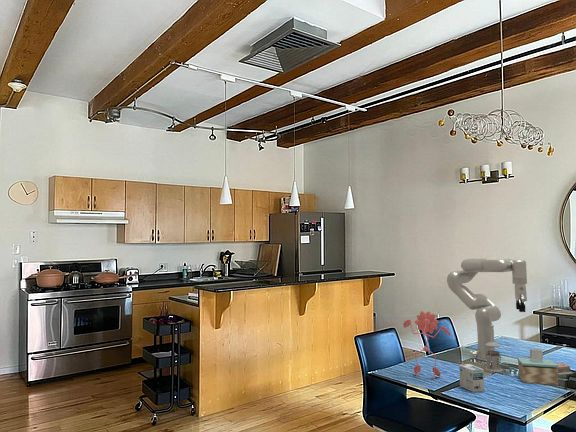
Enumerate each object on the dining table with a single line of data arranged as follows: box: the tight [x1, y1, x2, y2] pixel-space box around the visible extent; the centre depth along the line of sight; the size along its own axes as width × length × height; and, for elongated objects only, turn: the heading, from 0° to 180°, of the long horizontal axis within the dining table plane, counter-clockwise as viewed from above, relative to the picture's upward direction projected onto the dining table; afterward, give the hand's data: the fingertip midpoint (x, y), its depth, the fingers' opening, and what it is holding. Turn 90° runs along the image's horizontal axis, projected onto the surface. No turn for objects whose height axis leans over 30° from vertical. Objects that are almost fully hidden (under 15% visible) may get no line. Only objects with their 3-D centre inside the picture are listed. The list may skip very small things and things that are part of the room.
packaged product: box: [555, 362, 574, 376], centre depth 252 cm, size 18×5×10 cm
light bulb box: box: [458, 363, 486, 393], centre depth 227 cm, size 11×7×11 cm, turn 17°
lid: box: [517, 357, 558, 368], centre depth 240 cm, size 16×14×1 cm
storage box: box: [517, 360, 559, 386], centre depth 240 cm, size 16×14×8 cm
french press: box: [483, 324, 504, 373], centre depth 260 cm, size 10×12×25 cm
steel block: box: [529, 348, 544, 363], centre depth 241 cm, size 5×5×6 cm
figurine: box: [402, 310, 451, 380], centre depth 251 cm, size 15×26×35 cm, turn 59°
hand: (520, 310), depth 265 cm, fingers open, 9 cm apart
